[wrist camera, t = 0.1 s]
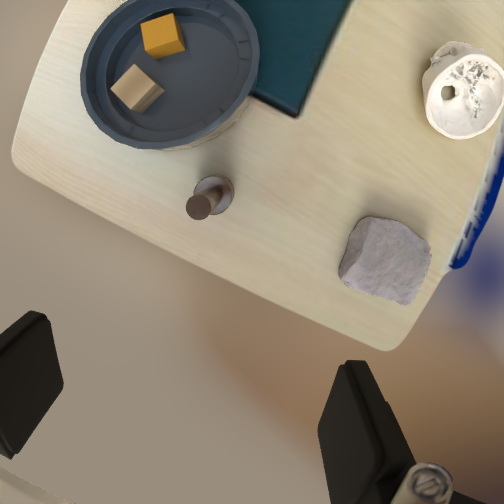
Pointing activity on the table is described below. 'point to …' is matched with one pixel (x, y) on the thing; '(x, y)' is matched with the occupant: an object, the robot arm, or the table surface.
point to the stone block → (385, 260)
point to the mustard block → (162, 36)
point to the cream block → (137, 89)
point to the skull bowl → (463, 90)
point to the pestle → (210, 197)
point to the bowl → (173, 73)
